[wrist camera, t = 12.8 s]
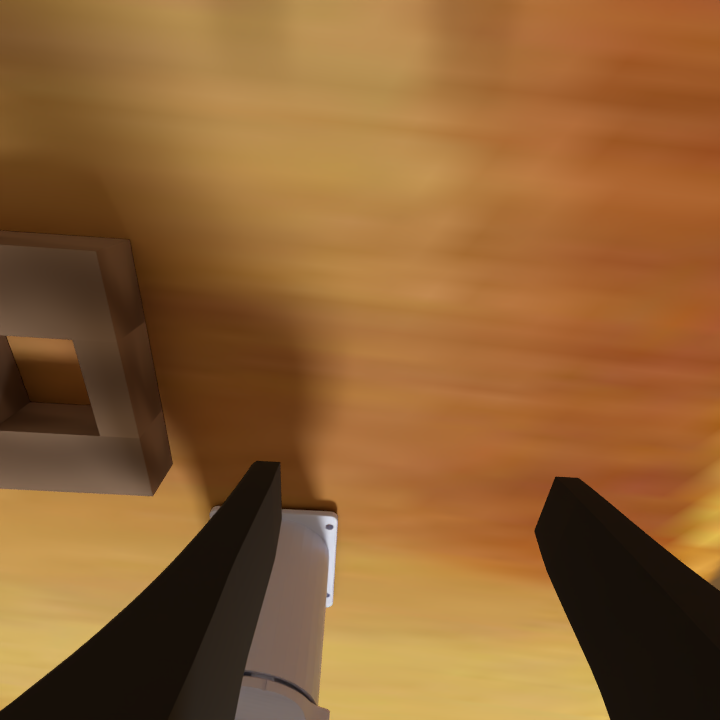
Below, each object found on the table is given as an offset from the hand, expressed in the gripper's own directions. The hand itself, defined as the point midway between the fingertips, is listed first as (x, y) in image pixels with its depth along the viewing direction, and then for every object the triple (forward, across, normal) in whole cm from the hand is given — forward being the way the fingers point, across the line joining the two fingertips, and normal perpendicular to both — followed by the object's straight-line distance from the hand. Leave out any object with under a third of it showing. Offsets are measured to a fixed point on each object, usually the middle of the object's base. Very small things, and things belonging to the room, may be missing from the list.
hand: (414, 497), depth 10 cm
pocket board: (+10, +16, +2) cm, 20 cm away
